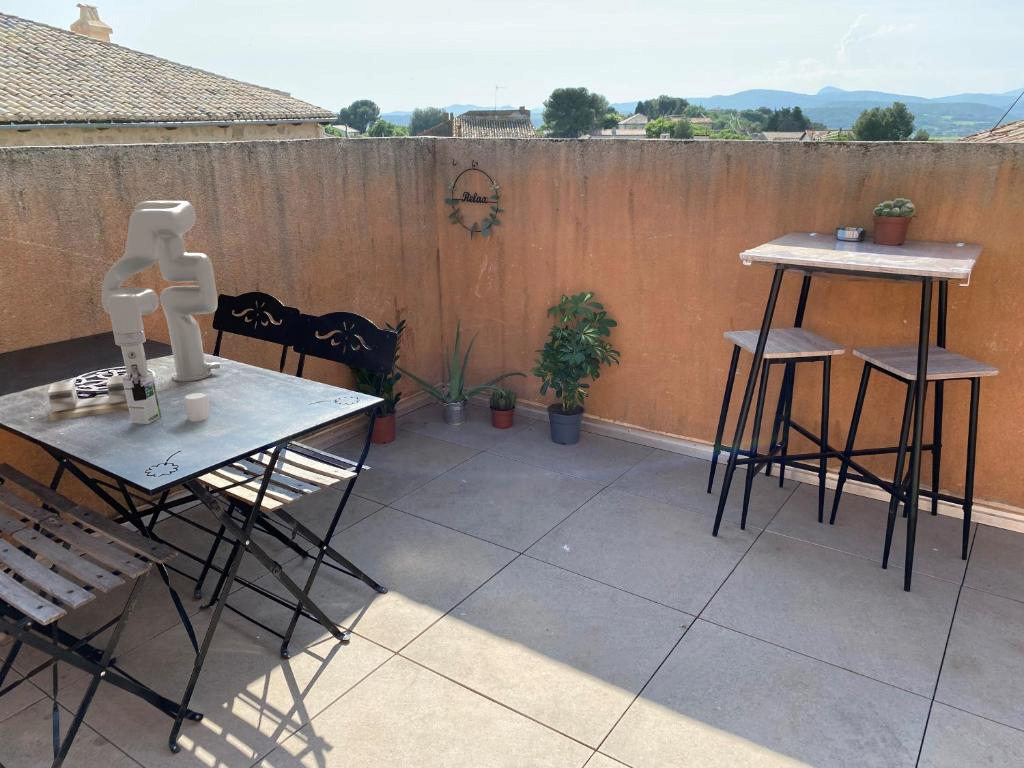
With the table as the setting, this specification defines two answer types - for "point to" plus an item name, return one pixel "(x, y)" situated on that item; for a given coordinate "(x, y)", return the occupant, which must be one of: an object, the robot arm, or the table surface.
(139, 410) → the syrup box
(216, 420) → the table surface
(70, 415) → the rail board
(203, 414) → the shot glass
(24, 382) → the table surface
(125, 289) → the robot arm
